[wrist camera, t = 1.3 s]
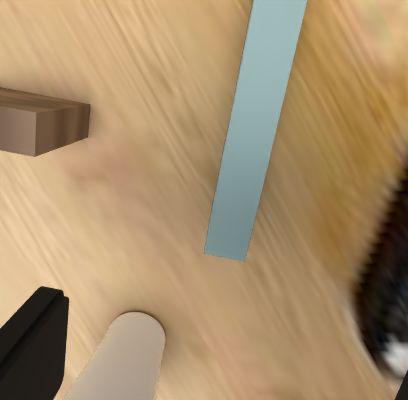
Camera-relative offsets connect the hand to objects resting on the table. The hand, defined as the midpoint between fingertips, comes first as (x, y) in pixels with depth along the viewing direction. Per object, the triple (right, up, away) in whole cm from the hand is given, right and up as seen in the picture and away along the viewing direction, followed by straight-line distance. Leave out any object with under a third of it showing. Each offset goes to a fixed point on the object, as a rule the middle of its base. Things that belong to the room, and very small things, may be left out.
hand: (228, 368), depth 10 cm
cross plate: (+3, +11, +17) cm, 21 cm away
